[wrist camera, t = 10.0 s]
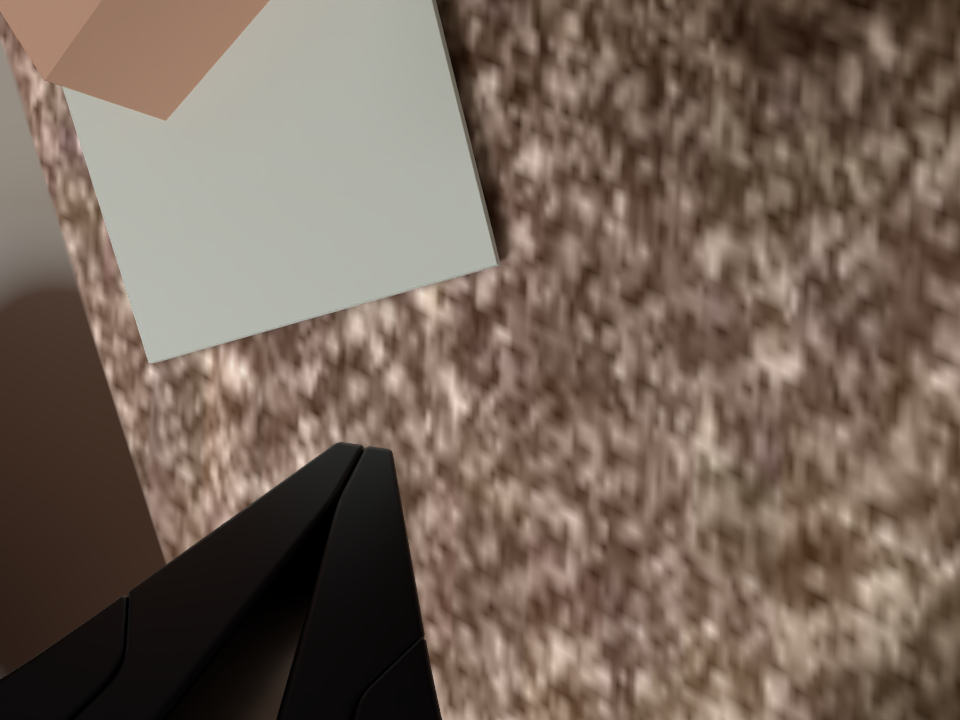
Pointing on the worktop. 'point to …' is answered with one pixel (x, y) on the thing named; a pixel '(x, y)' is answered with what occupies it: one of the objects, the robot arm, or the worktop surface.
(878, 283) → the worktop surface
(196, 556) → the robot arm
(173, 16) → the terracotta slab
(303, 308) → the rubber mat
